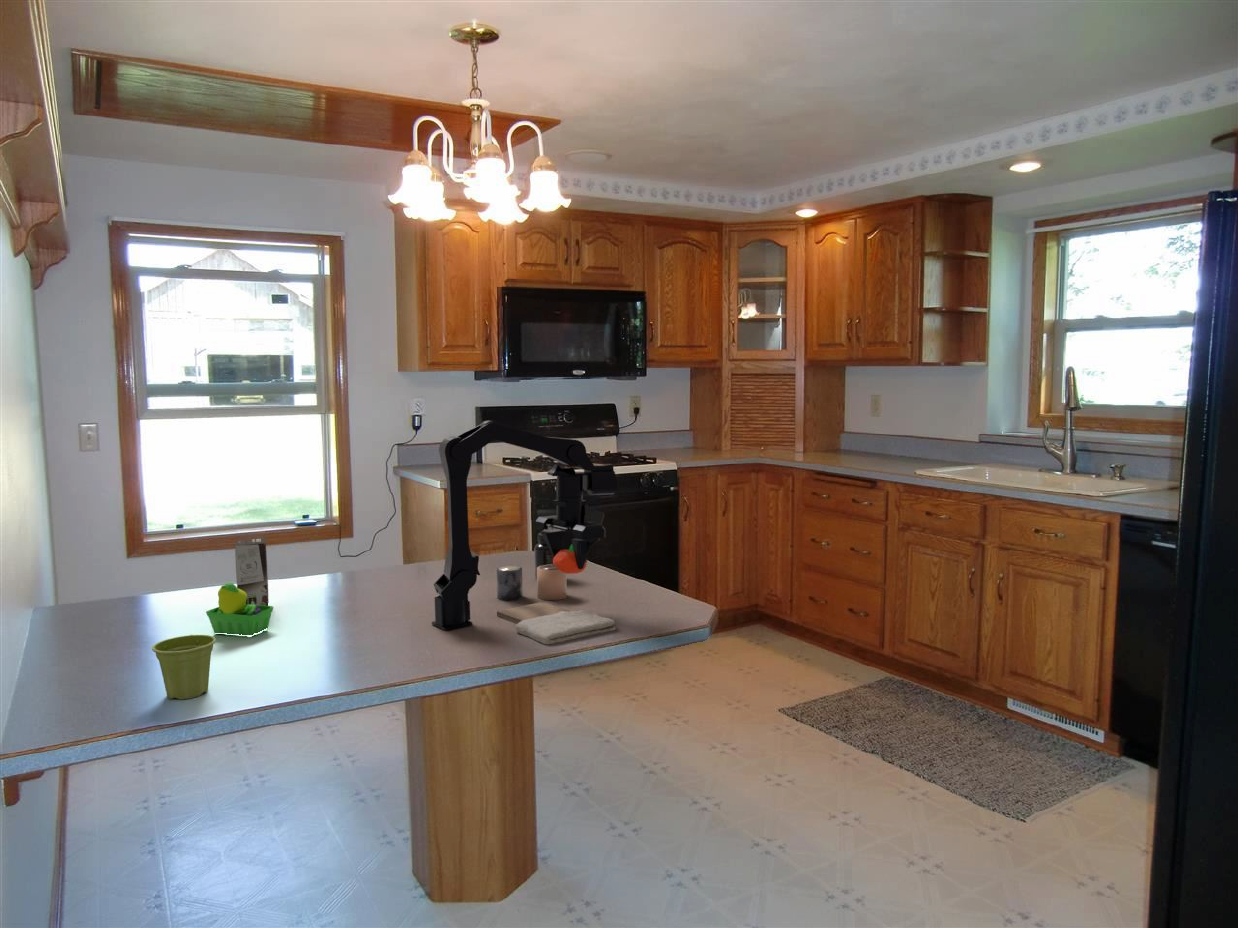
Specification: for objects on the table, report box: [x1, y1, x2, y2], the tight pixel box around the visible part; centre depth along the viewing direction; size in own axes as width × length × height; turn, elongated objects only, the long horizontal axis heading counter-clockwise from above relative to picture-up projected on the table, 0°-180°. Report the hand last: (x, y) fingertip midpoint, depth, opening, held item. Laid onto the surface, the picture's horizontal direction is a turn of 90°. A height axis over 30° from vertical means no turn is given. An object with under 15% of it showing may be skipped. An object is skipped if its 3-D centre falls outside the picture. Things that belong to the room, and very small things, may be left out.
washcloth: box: [514, 609, 616, 646], centre depth 176 cm, size 12×18×3 cm, turn 128°
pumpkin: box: [553, 543, 588, 575], centre depth 190 cm, size 7×8×6 cm
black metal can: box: [496, 565, 524, 602], centre depth 204 cm, size 6×6×7 cm
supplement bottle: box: [533, 532, 554, 581], centre depth 223 cm, size 7×7×12 cm
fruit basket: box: [205, 582, 275, 635], centre depth 176 cm, size 11×9×11 cm
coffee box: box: [234, 537, 269, 606], centre depth 194 cm, size 9×6×16 cm
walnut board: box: [496, 601, 572, 624], centre depth 187 cm, size 12×12×1 cm
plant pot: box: [151, 634, 216, 700], centre depth 142 cm, size 9×9×9 cm
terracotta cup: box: [536, 565, 568, 601], centre depth 205 cm, size 7×7×7 cm
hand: (569, 565), depth 190 cm, fingers closed on pumpkin, 8 cm apart
